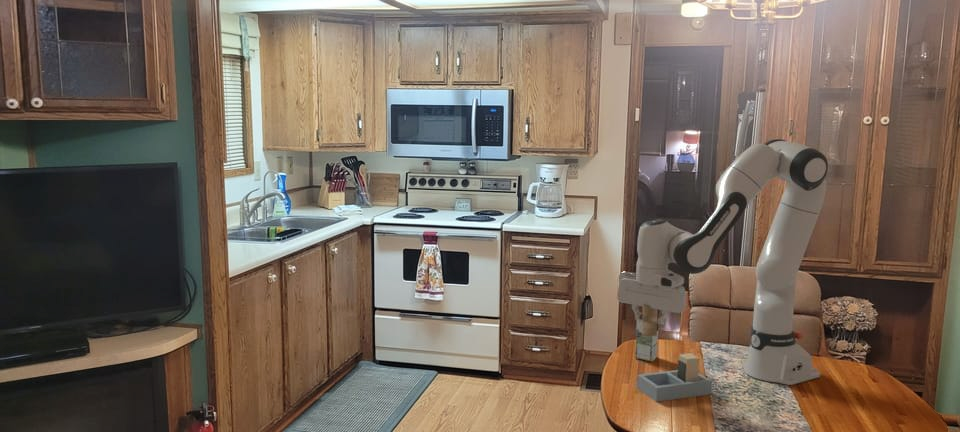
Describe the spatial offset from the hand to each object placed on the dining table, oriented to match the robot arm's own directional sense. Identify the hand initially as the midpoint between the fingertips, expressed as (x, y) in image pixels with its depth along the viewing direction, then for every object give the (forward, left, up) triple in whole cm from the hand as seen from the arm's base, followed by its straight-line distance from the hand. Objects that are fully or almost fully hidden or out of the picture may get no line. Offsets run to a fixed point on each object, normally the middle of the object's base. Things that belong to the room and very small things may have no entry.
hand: (649, 321), depth 198 cm
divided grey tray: (-4, +7, -19) cm, 21 cm away
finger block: (0, 0, -4) cm, 4 cm away
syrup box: (-11, -19, -19) cm, 29 cm away
